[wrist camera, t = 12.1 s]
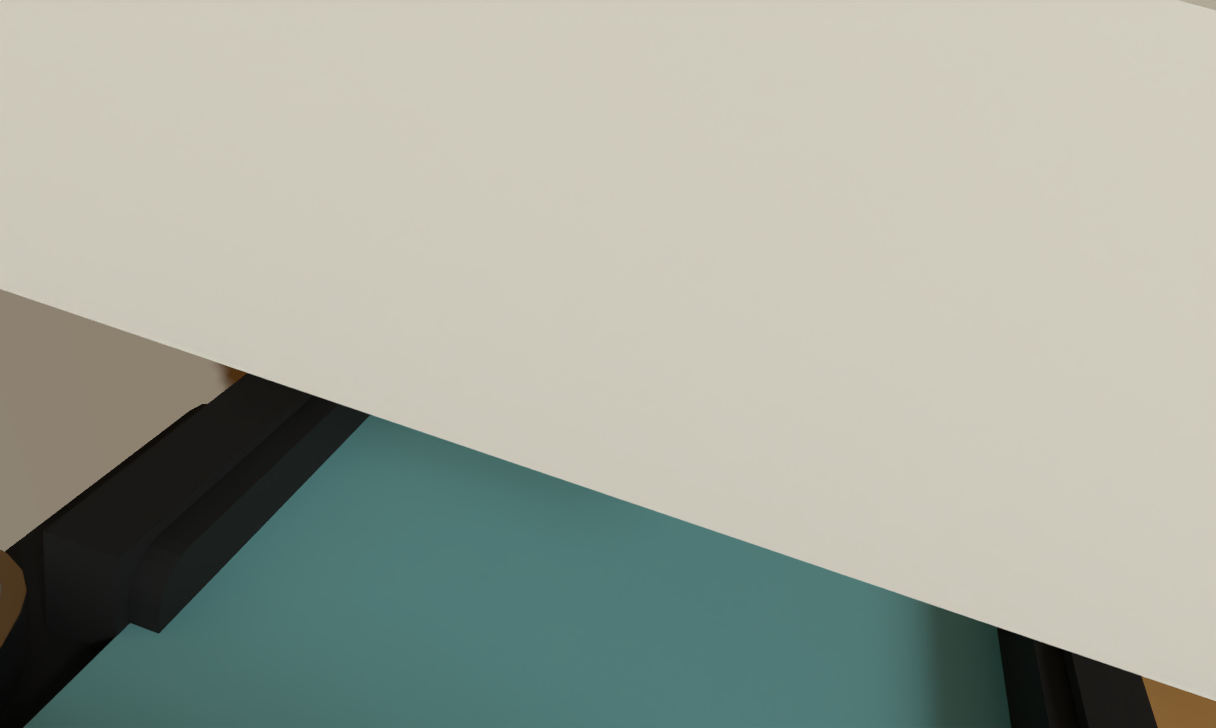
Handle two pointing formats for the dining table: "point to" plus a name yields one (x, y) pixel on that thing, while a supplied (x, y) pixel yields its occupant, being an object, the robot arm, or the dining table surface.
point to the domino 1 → (692, 261)
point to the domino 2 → (525, 619)
